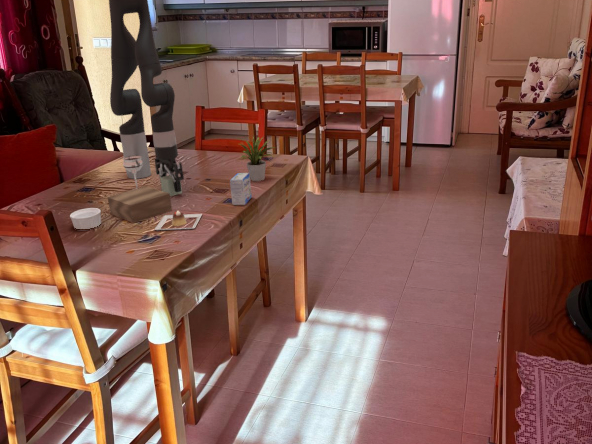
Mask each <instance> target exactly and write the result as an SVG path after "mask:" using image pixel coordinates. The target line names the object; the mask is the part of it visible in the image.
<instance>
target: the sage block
mask: <svg viewBox="0 0 592 444" xmlns="http://www.w3.org/2000/svg"><path fill="white" fill-rule="evenodd" d="M175 178H176V177H175ZM159 179H160V181H159V182H160V186H161V191H163V192H167V193H170V197H174V196H176V195H180V194H183V188H182V186H181V191H180V192H175V189H174V181H173V179H172V177H170V176H169V174H167V176H164V177H159ZM180 184H181V185H182V180H181V181H180Z"/></svg>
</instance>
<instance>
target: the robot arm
mask: <svg viewBox="0 0 592 444" xmlns="http://www.w3.org/2000/svg"><path fill="white" fill-rule="evenodd" d="M108 5H109V16H110V17H109V18H110V28H111V29H110V31H111V33H110V35H111V36H110V37H111V42H110V61H111V84H110V92H109V94H110V95H109V96H110V97H109V100H110V104H109V105H110V109H111V112H112V114H114V116H117V117H121V116H122V117H124V116H129V115H131V117H130V118H129V119H128V120H127V121H125V122H124V123H122V124H121V125H119V127H118V131H119V136H120V142H121V147H122V155H123V158H124V157H128V156H135V155H138V156H142V158H141V160H142V161H143V166H142V168H141V169H140V170H139V171H137V173H136V179H144V178H147V177H150V176H151V175H152V171H151V163H150V158H149V157H150V155H149V149H148V143H147V137H146V130H145V121H144V114H143V112H144V111H143V103H144V104H145V105H146V106H147V107H149V108H154V107H159V106H160V107H159V110H158V111H157V112H155V113H153V114H151V116H150V121H151V127H152V142H153V146H154V155H155V158H154V166H155V173H156V175H158V177H159V178H160V177H164V176H168V175H169V176H170V177H172V179H173V181H174V189H175V192H180V191H181V187H182V183H181V184H180V181H181V182H182V181H183V180H184V179H185V176H184V171H183V165H182V162H176V158H177V157H178V156H179V153H178V151H179V150H178V144H177V137H176V133H175V128H174V121H173V120H174V119H173V113H174V105H175V98H176V95H175V90H174V88H173V87H172V85H171V84H170V83H168V82H161V83H160V82H159V83H154V78H157V77H158V76H160V75H162V73H163V69H162V65H161V62H160V58H159V55H158V52H157V48H156V43H155V40H154V38H155V37H154V33H153V26H152V19H151V14H150V13H151V12H150V8H149V1H148V0H108ZM135 13H137V15H138V19H139V20H138V21H139V28H138V33H137V37H136V38H135V37H134V36H133V35H132V34H131V33H132V32H130V31H129V30H128V28H127V26H126V25H125V22H124V17H125V15H127V14H135ZM137 68H138V70H139V73H140V74H139V75H140V91H141V93H140V92H139V90H138V89H136V88H129V89H124V88H125V86H126V84H127V82H128V81H129V80H130V78H131V77H132V76H133V74H134V73H135V72H136V70H137ZM142 101H143V103H142ZM125 173H126V176H127V178H128V179H133V180H135V178H134V173H132V172H129V171H127V170H126V169H125ZM175 177H176V178H175Z"/></svg>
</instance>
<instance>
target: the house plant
mask: <svg viewBox="0 0 592 444" xmlns="http://www.w3.org/2000/svg"><path fill="white" fill-rule="evenodd" d="M263 139H264V136H262V137H261V138H260V137H259V136H258V137H257V138H256V140H255V135H254V134H253V136H252V145H251V143H250V142H249V141H248V140H245V142H246V144H247V146H246V145H245V144H243V142H244V140H242V141H243V142H241V141H240V143H239V145H240V146H242V148H243V149H245V150H243V151H242V152H243V153H244V154H246V155H241V157H240V159H242V160H244V159H246V158H247V159H248V160H249V161H248V162H246V167H247V170H248V172H247V173H249V175H250V181H251V180H252V181H251V182H262V181H264V180H265V178H266V166H267V162H266V161H265V160H263V158H265V157H267V156H270V157H272V155H273V152H271V151H269V150H271V149H276V148H277V147H273V146H272V147H267V146H269V141H271V140H272V139H268V140H267V141H265V142H264V143H263V145H262V146H260V144H261V142H262V140H263ZM248 147H249V148H248ZM259 147H260V148H259ZM268 151H269V152H268ZM261 180H262V181H261Z"/></svg>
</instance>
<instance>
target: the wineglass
mask: <svg viewBox="0 0 592 444" xmlns="http://www.w3.org/2000/svg"><path fill="white" fill-rule="evenodd" d="M141 158H142V156H138V155H135V156H128V157H124V156H123V158H122V160H123V163H122V166H123V167H124V169H125V171H126V170H127V171H129V172H132V173H134V178H135V179H134V182H135V187H136V188H133V189H131V190H134V189H137V188H139V187H138V180H137V179H136V173H137V171H139V170H140V169H141V168H142V166H143V161H142V160H141Z"/></svg>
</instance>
